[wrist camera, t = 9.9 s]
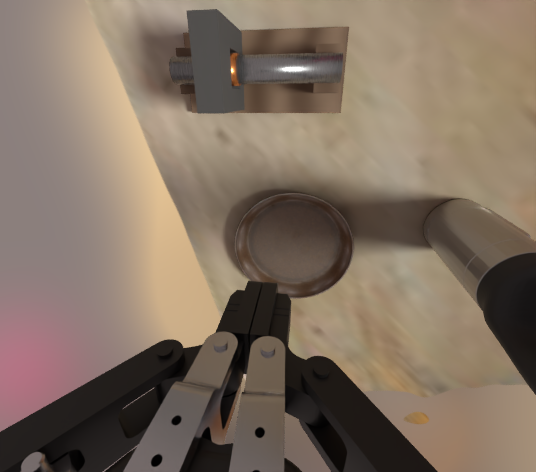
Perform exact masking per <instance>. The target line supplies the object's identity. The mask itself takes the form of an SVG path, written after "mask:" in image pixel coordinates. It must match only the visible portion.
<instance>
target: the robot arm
mask: <svg viewBox="0 0 536 472" xmlns="http://www.w3.org/2000/svg"><path fill="white" fill-rule="evenodd" d="M423 231H424V236H425V239H426V240H427V242H428V243H429V244H430V245H431V247H432V248H433V249H434V251H435V252H436V253H437V254H438V256H439V257H440V258H441V259H442V261H443V262H444V263H445V265H446V266H447V267H448V268H449V270H450V271H451V272H452V273H453V275H454V276H455V277H456V278H457V280H458V281H459V282H460V283H461V285H462V286H463V287H464V288H465V290H466V291H467V292H468V293H469V294H470V296H471V297H472V298H473V299H474V301H475V302H476V303H477V304H478V306H479V307H480V308H481V309H482V311H483V314H484V318H485V321H486V323H487V325H488V327H489V328H490V330H491V331H492V333H493V334H494V335H495V337H496V338H497V340H498V341H499V343H500V344H501V345H502V347H503V348H504V350H505V351H506V353H507V354H508V356H509V357H510V359H511V360H512V362H513V363H514V365H515V367H516V368H517V370H518V371H519V373H520V374H521V375H522V377H523V378H524V380H525V381H526V383H527V384H528V385H529V387H530V388H531V389H532V391H533V392H534V393H535V395H536V241H534V240H533V239H531V238H530V235H529V234H528V233H526V232H525V231H523V230H522V229H520V228H519V227H517V226H515V225H514V224H512V223H511V222H509V221H507V220H506V219H504V218H503V217H501V216H500V215H498V214H496V213H495V212H493V211H492V210H490V209H485V208H483V207H482V206H480V205H479V204H477V203H475V202H473V201H471V200H467V199H455V200H450V201H447V202H445V203H443V204H441V205H439V206H438V207H436V208H435V209H434V210H433V211H432V212H431V213H430V214H429V215H428V217H427V218H426V221H425V223H424V229H423ZM290 316H291V300H290V298H289V296H288V294H281V293H278V283H271V282H257V281H248V283H247V286H246V288H245V291H244V290H237V291H236V292H234V293H233V294H232V295H231V296H230V299H229V301H228V303H227V306H226V308H225V311H224V313H223V316H222V318H221V320H220V323H219V325H218V328H217V330H216V333H214V334H212V335H210V336H209V337H208V338H207V339H206V340H205V342H204V344H203V345H199V346H195V347H189V348H183V346H182V344H181V343H180V342H179V341H176V340H164V341H161V342H159V343H157V344H155V345H153V346H151V347H150V348H148V349H146V350H144V351H143V352H141V353H139V354H137V355H136V356H134V357H132V358H130V359H128V360H127V361H125V362H123V363H121V364H120V365H118V366H116V367H115V368H113V369H111V370H109V371H107V372H105V373H104V374H102V375H100V376H98V377H97V378H95V379H93V380H91V381H90V382H88V383H86V384H84V385H83V386H81V387H79V388H77V389H75V390H74V391H72V392H70V393H68V394H66V395H65V396H63V397H61V398H59V399H58V400H56V401H54V402H52V403H51V404H49V405H47V406H46V407H43V408H42V409H40V410H38V411H36V412H35V413H33V414H31V415H29V416H28V417H26V418H24V419H22V420H21V421H19V422H17V423H15V424H13V425H12V426H10V427H8V428H6V429H5V430H3V431H1V432H0V472H102V471H104V470H105V469H106V468H108V467H109V466H110V465H112V464H113V463H114V462H116V461H117V460H118V459H119V458H121V457H122V456H123V455H125V454H126V453H127V452H129V451H130V450H131V449H133V448H134V447H135V446H137V445H138V444H139V445H138V446H137V447H136V448H135V449H133V450H132V451H130V452H129V453H127V454H126V455H125V456H124V457H122V458H121V459H120V460H119V461H117V462H116V463H115V464H114V465H112V466H111V467H110V468H109V469H107V470H106V471H105V472H302V471H301V470H300V469H299V468H298V467H297V466H296V465H294V464H293V463H292V462H291V461H289V460H287V459H286V458H284V439H285V437H284V436H285V435H284V434H285V412H286V413H288V414H290V415H292V416H294V417H296V418H298V419H299V422H300V424H301V426H302V428H303V429H304V431H305V432H306V434H307V435H308V437H309V438H310V440H311V441H312V443H313V444H314V446H315V447H316V449H317V450H318V452H319V454H320V455H321V457H322V458H323V459H324V461H325V463H326V464H327V466H328V467H329V469H330V470H331V472H437V471H436V470H435V468H434V467H433V466H432V465H431V464H430V463H429V462H428V461H427V460H426V459H425V458H424V457H423V456H422V455H421V454H420V453H419V451H418V450H417V449H416V448H415V447H414V446H413V445H412V444H411V443H410V442H409V441H408V440H407V439H406V438H405V437H404V436H403V435H402V433H401V432H400V431H399V430H398V429H397V428H396V427H395V426H394V425H393V424H392V423H391V422H390V421H389V420H388V419H387V418H386V417H385V416H384V415H383V413H382V412H381V411H380V410H379V409H378V408H377V407H376V406H375V405H374V404H373V403H372V402H371V401H370V400H369V399H368V397H367V396H366V395H365V394H364V393H363V392H362V391H361V390H360V389H359V388H358V387H357V386H356V385H355V384H354V383H353V382H352V381H351V380H350V378H349V377H348V376H347V375H346V374H345V373H344V372H343V371H342V370H341V369H340V368H339V367H338V366H337V365H336V364H335V363H334V362H333V361H332V360H330V359H329V358H326V357H323V356H313V357H310V358H308V359H307V360H305V359H302V358H300V357H298V356H296V355H295V354H293V353H292V352H291V351H290V349H289V347H288V342H289V332H290ZM243 374H247V376H246V383H245V389H244V392H242V394H241V399H240V405H239V411H238V417H237V418H238V419H237V424H236V431H235V437H234V443H231V444H225V439H226V434H227V431H228V428H229V425H230V422H231V419H232V416H233V413H234V410H235V406H236V403H237V400H238V397H239V394H240V391H241V382H242V378H243ZM152 388H154V389H152ZM151 389H152V390H151ZM149 390H151V391H149ZM148 391H149V392H148ZM146 392H148V393H146ZM145 393H146V394H145ZM143 394H145V395H143ZM141 395H143V396H142V397H140V396H141ZM138 397H140V398H139V399H137V398H138ZM135 399H137V400H136V401H134V400H135ZM132 401H134V402H133V403H131V402H132ZM129 403H131V404H130V405H128V404H129ZM126 405H128V406H127V407H126V408H124V407H125V406H126ZM123 408H124V409H123Z"/></svg>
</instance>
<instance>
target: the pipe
mask: <svg viewBox="0 0 536 472" xmlns="http://www.w3.org/2000/svg"><path fill="white" fill-rule="evenodd" d="M230 61H231V80H232V86H240V85H241V84H290V83H340V81H341V76H342V67H343V52H338V53H299V54H260V55H239V54H238V53H230ZM170 74H171V77H172V80H173V82H174V83H175V84H176V85H194V76H193V66H192V57H191V56H181V57H171V59H170Z"/></svg>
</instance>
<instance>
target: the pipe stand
mask: <svg viewBox="0 0 536 472" xmlns="http://www.w3.org/2000/svg"><path fill="white" fill-rule="evenodd" d="M348 31H349V27H329V28H302V29H274V30H247V31H241V32H242V53H243V55H260V54H299V53H338V52H343V67H342V76H341V81H340V83H290V84H244V106H245V110H240V111H234V112H229V113H341V103H342V93H343V82H344V72H345V62H346V52H347V42H348ZM183 35H184V44H185V48H176V54H177V57H181V56H191V47H190V38H189V33H183ZM180 86H181V94H190V97H191V106H192V113H197V104H196V95H195V85H180Z"/></svg>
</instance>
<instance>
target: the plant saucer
mask: <svg viewBox="0 0 536 472" xmlns="http://www.w3.org/2000/svg"><path fill="white" fill-rule="evenodd" d="M353 252H354V242H353V236H352V233H351V230H350V227H349V225H348V223H347V222H346V220H345V219H344V217H343V216H342V215H341V214H340V212H339V211H338V210H336V209H335V208H334V207H333V206H332V205H330V204H329V203H327V202H326V201H324V200H322V199H320V198H317V197H314V196H311V195H307V194H301V193H284V194H279V195H274V196H271V197H269V198H266V199H264V200H262V201H260V202H259V203H257V204H256V205H254V206H253V207H252V208H251V209H250V210H249V211H248V212H247V213H246V214H245V216H244V217H243V218H242V220H241V222H240V224H239V226H238V228H237V231H236V235H235V253H236V257H237V260H238V263H239V265H240V267H241V269H242V271H243V272H244V273H245V275H246V276H247V277H248V278H249V279H250V280H251V281H257V282H271V283H278V293H281V294H288V296H289V298H307V297H312V296H315V295H318V294H321V293H323V292H325V291H327V290H329V289H330V288H332V287H333V286H334V285H336V284H337V283H338V282H339V281H340V280H341V279H342V278H343V276H344V275H345V274H346V272H347V270H348V269H349V267H350V264H351V261H352V258H353Z"/></svg>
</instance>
